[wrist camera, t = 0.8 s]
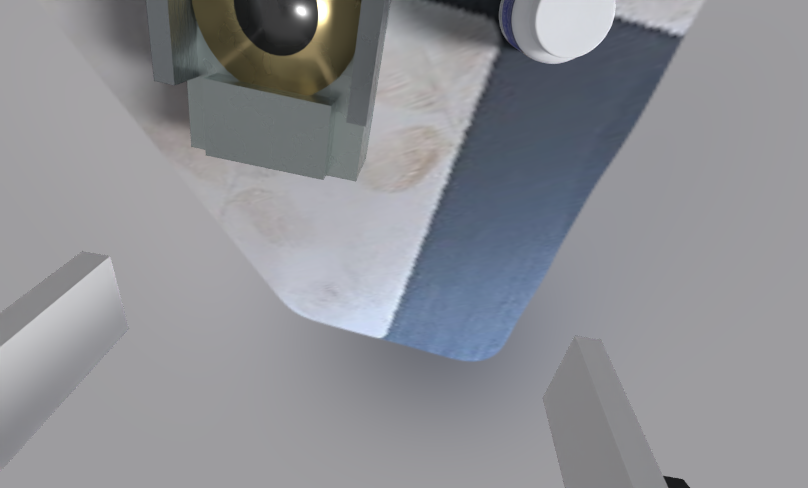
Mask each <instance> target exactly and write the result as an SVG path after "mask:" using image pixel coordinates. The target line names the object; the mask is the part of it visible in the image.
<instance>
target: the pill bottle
mask: <svg viewBox="0 0 808 488" xmlns="http://www.w3.org/2000/svg"><path fill="white" fill-rule="evenodd" d="M615 4H616V3H615V0H501V3H500V8H499V23H500V27H501V31H502V33H503V35H504V37H505V38H506V40H507V41H508V42H509V43H510V44H511V45H512V46H513V47H515V48H516V49H518V50H519V51H521V52H522V53H524V54H525V55H527V56H528V57H530V58H531V59H533V60H536V61H539V62H542V63H548V64H556V63H563V62H566V61H569V60H572V59H574V58H576V57H579V56H582V55H584V54H586V53H588V52H590V51H591V50H593V49H594V48H595V47H596V46H597V45H598V44H599V43H600V42H601V41H602V40H603V39H604V38H605V36H606V35H607V33H608V31H609V29H610V28H611V25H612V22H613V19H614V15H615Z"/></svg>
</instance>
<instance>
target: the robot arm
mask: <svg viewBox="0 0 808 488" xmlns="http://www.w3.org/2000/svg"><path fill="white" fill-rule="evenodd" d="M128 329H129V327H128V324H127V320H126V316H125V312H124V308H123V304H122V300H121V296H120V292H119V289H118V285H117V281H116V277H115V273H114V269H113V265H112V262H111V258H110V256H106V255H101V254H95V253H89V252H83V251H82V252H81V253H79V254H78V255H77V256H75V257H74V258H73V259H71V260H70V261H69V262H67V263H66V264H65V265H63V266H62V267H61V268H59V269H58V270H57V271H56V272H54V273H53V274H51V275H50V276H49V277H47V278H46V279H45V280H43V281H42V282H41V283H39V284H38V285H37V286H35V287H34V288H33V289H31V290H30V291H29V292H27V293H26V294H25V295H23V296H22V297H21V298H19V299H18V300H17V301H15V302H14V303H13V304H12V305H10V306H9V307H7V308H6V309H5V310H3V311H2V312H1V313H0V472H1V470H2V469H3V468H4V467H5V466H6V465H7V464H8V463H9V462H10V460H11V459H12V458H13V457H14V456H15V455H16V454H17V453H18V451H19V450H20V449H21V448H22V447H23V446H24V445H25V444H26V443H27V441H28V440H29V439H30V438H31V437H32V436H33V435H34V434H35V433H36V432H37V430H38V429H39V428H40V427H41V426H42V425H43V424H44V423H45V422H46V420H47V419H48V418H49V417H50V416H51V415H52V413H54V412H55V410H56V409H57V408H58V407H59V406H60V405H61V404H62V402H64V400H65V399H66V398H67V397H68V396H69V395H70V394H71V392H72V391H73V390H74V389H75V388H76V387H77V386H78V385H79V384H80V382H81V381H82V380H83V379H84V378H85V377H86V376H87V375H88V374H89V373H90V371H91V370H92V369H93V368H94V367H95V366H96V365H97V364H98V363H99V362H100V360H101V359H102V358H103V357H104V356H105V355H106V353H108V352H109V350H110V349H111V348H112V347H113V346H114V345H115V344H116V342H117V341H118V340H119V339H120V338H121V337H122V336H123V335H124V334H125V333H126V332H127V330H128ZM543 402H544V406H545V409H546V414H547V418H548V422H549V426H550V429H551V433H552V437H553V442H554V446H555V450H556V453H557V458H558V462H559V466H560V470H561V474H562V478H563V482H564V486H565V488H690V487H689V486H688V485H687V484H686V482H685V481H684V480H683V479H679V478H673V477H666V476H663V475H662V473H661V471H660V469H659V466H658V464H657V462H656V460H655V458H654V455H653V453H652V451H651V449H650V446H649V444H648V442H647V440H646V438H645V435H644V433H643V431H642V429H641V426H640V424H639V422H638V420H637V418H636V415H635V413H634V411H633V409H632V407H631V404H630V402H629V400H628V398H627V396H626V393H625V391H624V389H623V387H622V385H621V382H620V380H619V378H618V376H617V374H616V371H615V369H614V367H613V365H612V362H611V360H610V358H609V356H608V354H607V351H606V349H605V347H604V345H603V343H602V341H601V340H599V339H593V338H587V337H581V336H575V337H574V338H573V340H572V342H571V344H570V346H569V348H568V350H567V352H566V354H565V356H564V358H563V360H562V361H561V363H560V365H559V367H558V369H557V371H556V373H555V375H554V377H553V379H552V381H551V383H550V385H549V387H548V389H547V391H546V392H545V395H544V396H543Z"/></svg>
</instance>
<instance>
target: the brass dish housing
mask: <svg viewBox="0 0 808 488" xmlns="http://www.w3.org/2000/svg"><path fill="white" fill-rule="evenodd" d="M390 1H391V0H146V8H147V17H148V27H149V36H150V46H151V55H152V65H153V74H154V81H157V82H162V83H166V84H171V85H177V84H180V83H182V82H185V81H187V89H188V104H189V119H190V134H191V147H195V148H200V149H204V150H206V155H207V156H212V157H217V158H222V159H226V160H231V161H236V162H241V163H245V164H250V165H255V166H260V167H264V168H269V169H274V170H279V171H284V172H288V173H293V174H298V175H303V176H307V177H312V178H317V179H322V180H324V178H325V176H326V175H328V176H333V177H338V178H342V179H347V180H352V181H356V180H357V178H358V175H359V173H360V171H361V168H362V166H363V164H364V161H365V159H366V154H367V147H368V141H369V135H370V128H371V122H372V116H373V109H374V103H375V97H376V90H377V84H378V78H379V71H380V65H381V59H382V52H383V46H384V39H385V33H386V27H387V20H388V14H389V8H390Z"/></svg>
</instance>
